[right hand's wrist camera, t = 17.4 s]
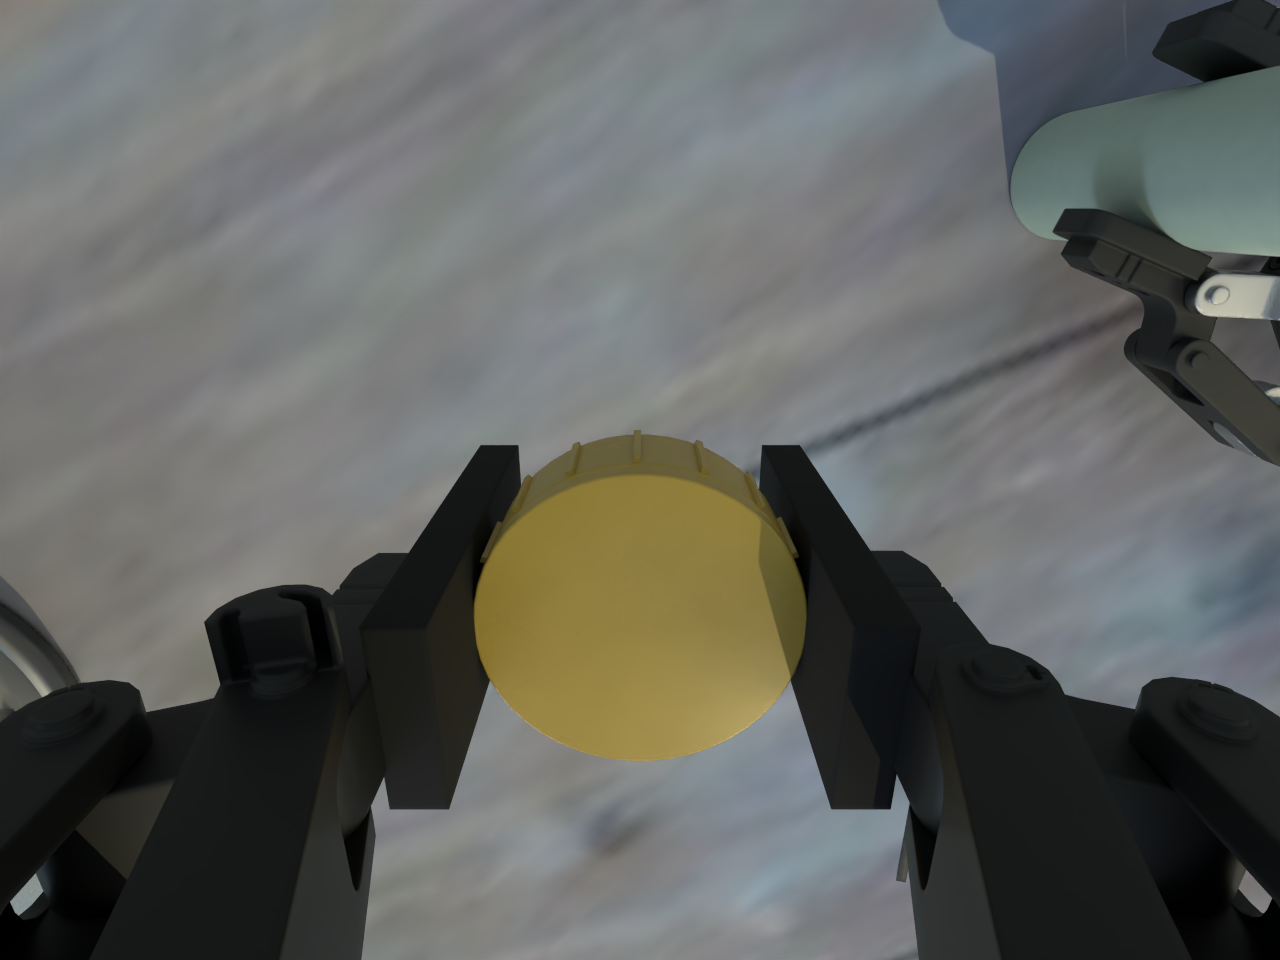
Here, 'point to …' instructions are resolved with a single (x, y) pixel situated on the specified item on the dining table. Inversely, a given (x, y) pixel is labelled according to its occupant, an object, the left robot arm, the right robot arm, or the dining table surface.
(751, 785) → the dining table surface
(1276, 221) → the pale green rounded cylinder
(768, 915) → the dining table surface
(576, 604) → the lid
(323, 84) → the dining table surface
